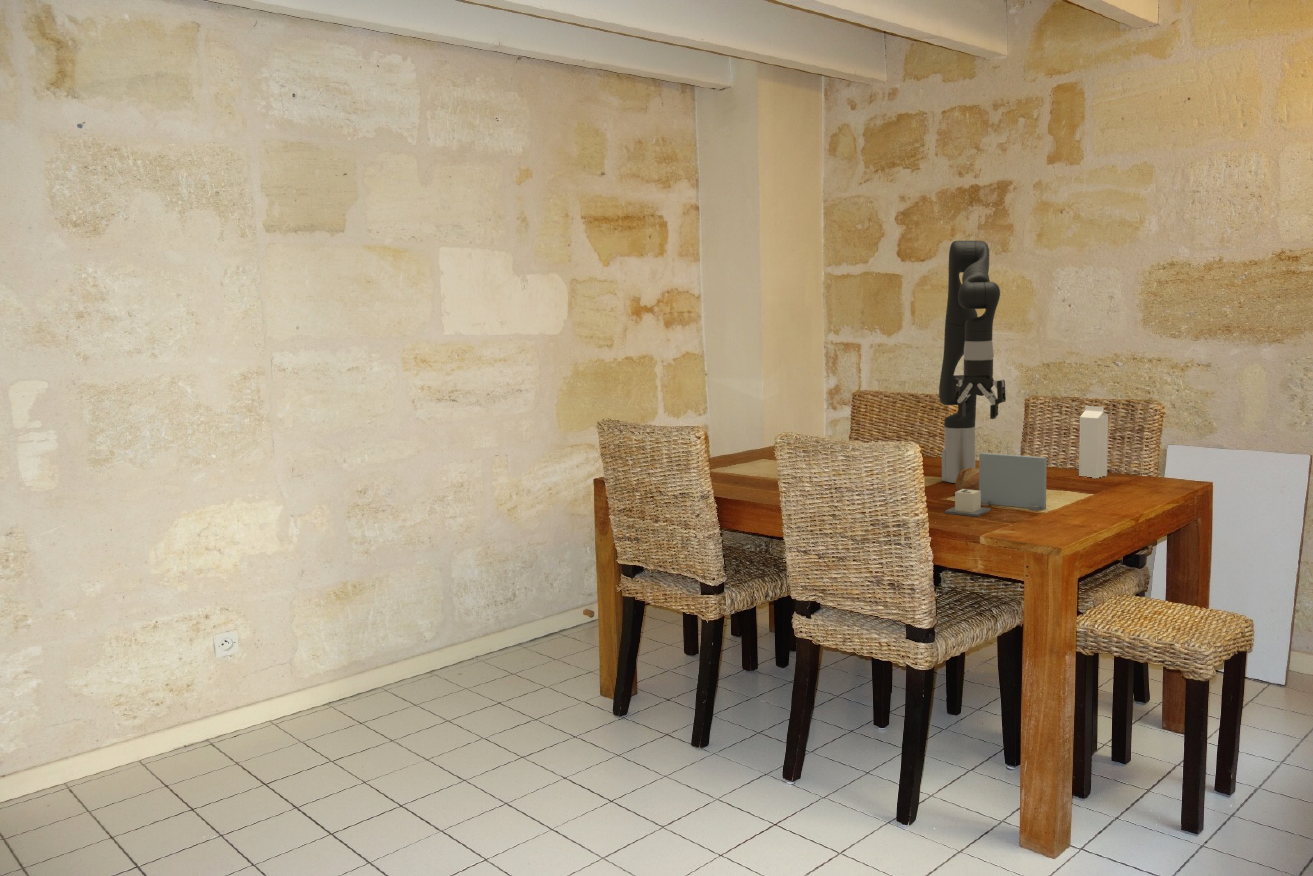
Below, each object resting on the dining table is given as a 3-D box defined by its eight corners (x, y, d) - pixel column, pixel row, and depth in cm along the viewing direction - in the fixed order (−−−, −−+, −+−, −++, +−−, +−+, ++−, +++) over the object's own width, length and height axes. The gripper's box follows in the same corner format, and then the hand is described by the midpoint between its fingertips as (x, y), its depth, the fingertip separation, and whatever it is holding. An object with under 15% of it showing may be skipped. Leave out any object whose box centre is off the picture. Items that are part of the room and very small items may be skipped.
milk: (1096, 479, 306) (1098, 407, 302) (1078, 476, 310) (1079, 406, 307) (1107, 476, 309) (1108, 405, 306) (1088, 473, 314) (1090, 404, 311)
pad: (944, 513, 268) (944, 510, 268) (959, 507, 274) (958, 504, 274) (977, 516, 262) (977, 514, 262) (990, 510, 269) (990, 508, 268)
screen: (975, 504, 277) (975, 454, 275) (984, 500, 281) (984, 451, 279) (1040, 511, 265) (1041, 459, 263) (1048, 507, 270) (1049, 456, 268)
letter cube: (955, 510, 268) (955, 491, 267) (962, 506, 272) (962, 488, 271) (973, 512, 265) (973, 493, 264) (980, 508, 268) (980, 490, 268)
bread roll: (948, 498, 286) (948, 471, 285) (965, 489, 298) (965, 463, 297) (982, 501, 281) (982, 473, 280) (997, 492, 293) (998, 465, 292)
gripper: (947, 358, 267) (946, 417, 270) (998, 359, 258) (997, 421, 260) (959, 355, 273) (959, 414, 275) (1010, 356, 263) (1009, 417, 266)
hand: (977, 417), depth 268 cm, fingers open, 8 cm apart
